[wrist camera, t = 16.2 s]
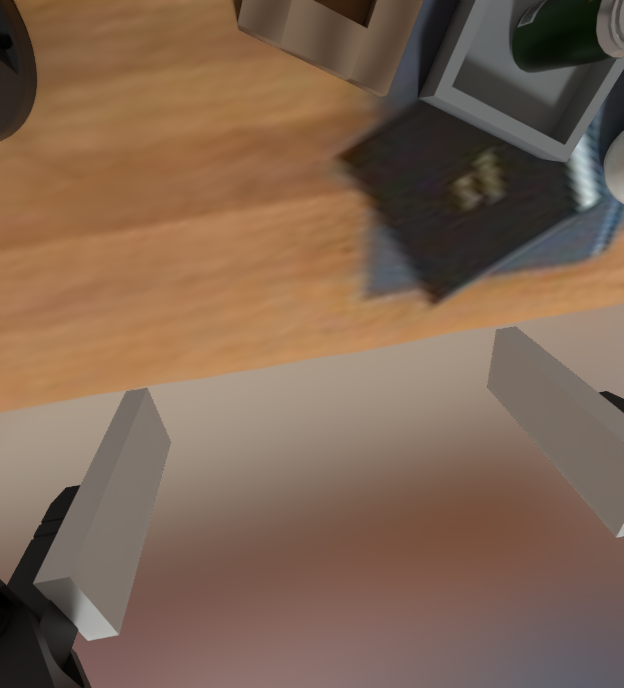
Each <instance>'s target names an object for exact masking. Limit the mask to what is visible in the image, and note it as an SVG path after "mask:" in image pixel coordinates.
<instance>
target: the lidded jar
mask: <svg viewBox="0 0 624 688" xmlns="http://www.w3.org/2000/svg"><path fill="white" fill-rule="evenodd" d="M603 170H604V179H605V183H606V186H607V188H608V190H609V192H610V193H611V194H612V195H613V197H614V198H615V199H617V200H618V201H619V202H621V203H622V204H624V130H623V131H622V132H621V133H620V134H619V135H618V136H617V137H616V139H615V140H614V141H613V142H612V144H611V145H610V147H609V149H608V151H607V153H606V155H605V159H604V164H603Z"/></svg>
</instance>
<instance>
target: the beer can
mask: <svg viewBox="0 0 624 688" xmlns="http://www.w3.org/2000/svg"><path fill="white" fill-rule="evenodd" d="M510 51H511V56H512V59H513V61H514V63H515V64H516V65H517V66H518V67H519V69H521V70H523V71H525V72H527V73H538V72H543V71H549V70H555V69H561V68H567V67H572V66H578V65H584V64H590V63H596V62H601V61H607V60H613V59H619V58H624V0H540V1H538V2H535V3H534V4H533V5H532V6H530V7H529V8H528V9H527V10H526V11H525V12H524V14H523V15H522V16H521V18H520V19H519V21H518V22H517V24H516V26H515V29H514V31H513V33H512V38H511V42H510Z"/></svg>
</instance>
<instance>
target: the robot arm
mask: <svg viewBox="0 0 624 688" xmlns="http://www.w3.org/2000/svg"><path fill="white" fill-rule="evenodd" d="M36 88H37V72H36V63H35V57H34V53H33V49H32V45H31V42H30V39H29V36H28V33H27V31H26V28H25V26H24V24H23V21H22V19H21V17H20V15H19V13H18V11H17V10H16V8H15V6H14V4H13V3H12V1H11V0H0V141H2V140H4V139H6V138H8V137H9V136H11V135H12V134H14V133H15V132H16V131H17V130H18V129H19V128H20V127H21V126H22V125H23V124H24V122H25V121H26V119H27V118H28V116H29V114H30V112H31V110H32V107H33V104H34V100H35V96H36ZM487 388H488V389H489V390H490V391H491V392H492V393H493V394H494V396H495V397H496V398H497V399H498V400H499V402H500V403H501V404H502V405H503V406H504V407H505V409H506V410H507V411H508V412H509V413H510V414H511V416H512V417H513V418H514V419H515V420H516V421H517V422H518V424H519V425H520V426H521V427H522V428H523V430H524V431H525V432H526V433H527V434H528V435H529V437H530V438H531V439H532V440H533V441H534V442H535V444H536V445H537V446H538V447H539V448H540V449H541V451H542V452H543V453H544V454H545V455H546V456H547V458H548V459H549V460H550V461H551V462H552V463H553V464H554V466H555V467H556V468H557V469H558V470H559V471H560V473H561V474H562V475H563V476H564V477H565V478H566V480H567V481H568V482H569V483H570V484H571V485H572V487H573V488H574V489H575V490H576V491H577V492H578V493H579V495H580V496H581V497H582V498H583V499H584V501H585V502H586V503H587V504H588V505H589V506H590V508H591V509H592V510H593V511H594V512H595V513H596V514H597V516H598V517H599V518H600V519H601V520H602V522H603V523H604V524H605V525H606V526H607V527H608V529H609V530H610V531H611V532H612V533H613V534H614V536H615V537H622V536H624V399H623V398H621V397H619V396H616V395H614V394H612V393H610V392H607V391H604V392H599V393H598V392H597V391H596V390H594V389H593V388H592V387H591V386H589V385H588V384H587V383H586V382H584V381H583V380H582V379H581V378H579V377H578V376H577V375H575V374H574V373H573V372H572V371H571V370H569V369H568V368H567V367H566V366H564V365H563V364H562V363H561V362H559V361H558V360H557V359H556V358H554V357H553V356H552V355H551V354H549V353H548V352H547V351H545V350H544V349H543V348H542V347H541V346H539V345H538V344H537V343H536V342H534V341H533V340H532V339H531V338H529V337H528V336H527V335H525V334H524V333H523V332H522V331H521V330H519V329H518V328H517V327H509V328H503V329H497V330H496V334H495V340H494V346H493V353H492V359H491V365H490V372H489V378H488V385H487ZM170 444H171V441H170V439H169V436H168V434H167V432H166V429H165V427H164V425H163V423H162V420H161V418H160V416H159V413H158V411H157V409H156V406H155V404H154V402H153V399H152V397H151V395H150V392H149V390H148V388H143V389H137V390H131V391H126V393H125V395H124V397H123V399H122V401H121V403H120V405H119V407H118V409H117V411H116V414H115V415H114V417H113V420H112V422H111V424H110V426H109V428H108V430H107V432H106V434H105V436H104V438H103V440H102V442H101V444H100V446H99V448H98V450H97V453H96V455H95V457H94V459H93V461H92V463H91V465H90V467H89V469H88V471H87V473H86V475H85V477H84V479H83V481H82V483H81V485H79V486H72V487H67V488H65V489H64V490H63V491H62V493H61V494H60V495H59V496H58V497H57V498H56V499H55V500H54V501H53V502H52V503H51V505H50V506H49V508H48V510H47V512H46V514H45V516H44V518H43V519H42V521H41V522H42V524H41V525H39V527H38V529H37V530H36V532H35V534H34V539H33V540H31V542H30V544H29V546H28V547H27V549H26V551H25V553H24V555H23V557H22V558H21V560H20V562H19V564H18V566H17V568H16V569H15V571H14V573H13V575H12V577H11V579H10V581H9V582H8V584H7V585H6V584H5V583H4V582H3V581H1V579H0V688H91V686H90V683H89V681H88V679H87V676H86V674H85V672H84V669H83V667H82V665H81V662H80V660H79V658H78V656H77V653H76V652H75V651H74V650H73V649H72V646H73V643H74V640H75V637H76V635H77V631H79V632H80V633H81V634H82V635H83V636H84V637H85V638H86V639H87V640H88V641H90V640H95V639H100V638H104V637H110V636H115V635H119V633H120V629H121V625H122V622H123V618H124V614H125V610H126V607H127V603H128V599H129V596H130V592H131V588H132V584H133V581H134V577H135V573H136V570H137V566H138V562H139V559H140V555H141V551H142V548H143V544H144V540H145V536H146V533H147V529H148V525H149V522H150V518H151V514H152V510H153V507H154V503H155V499H156V496H157V491H158V488H159V484H160V481H161V477H162V473H163V470H164V466H165V462H166V459H167V455H168V451H169V447H170Z"/></svg>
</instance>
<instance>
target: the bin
mask: <svg viewBox="0 0 624 688" xmlns="http://www.w3.org/2000/svg"><path fill="white" fill-rule="evenodd" d="M538 1H540V0H459V2H458V4H457V7H456V9H455V11H454V14H453V16H452V18H451V21H450V23H449V26H448V28H447V30H446V33H445V35H444V37H443V40H442V42H441V45H440V47H439V49H438V52H437V54H436V56H435V59H434V61H433V64H432V66H431V68H430V71H429V73H428V76H427V78H426V80H425V83H424V85H423V87H422V90H421V92H420V95H419V97H418V98H419V99H421V100H423V101H425V102H427V103H429V104H431V105H433V106H435V107H437V108H439V109H441V110H443V111H445V112H447V113H449V114H451V115H453V116H455V117H457V118H459V119H461V120H463V121H465V122H467V123H469V124H471V125H473V126H475V127H477V128H480V129H482V130H484V131H486V132H488V133H490V134H492V135H494V136H496V137H498V138H500V139H502V140H504V141H506V142H508V143H510V144H512V145H514V146H516V147H518V148H520V149H522V150H524V151H526V152H528V153H530V154H532V155H534V156H536V157H538V158H540V159H546V160H553V161H561V162H567V160H568V158H569V157H570V155H571V154H572V152H573V150H574V149H575V147H576V145H577V144H578V142H579V141H580V139H581V137H582V136H583V134H584V133H585V131H586V129H587V128H588V126H589V124H590V123H591V121H592V120H593V118H594V116H595V115H596V113H597V111H598V110H599V108H600V107H601V105H602V103H603V102H604V100H605V98H606V97H607V95H608V94H609V92H610V90H611V89H612V87H613V86H614V84H615V82H616V81H617V79H618V77H619V76H620V74H621V73H622V71H623V69H624V58H619V59H613V60H607V61H601V62H596V63H590V64H584V65H578V66H572V67H567V68H561V69H555V70H549V71H543V72H538V73H527V72H525V71H523V70H521V69H519V67H518V66H517V65H516V64H515V63H514V61H513V59H512V56H511V51H510V42H511V38H512V33H513V31H514V29H515V26H516V24H517V22H518V21H519V19H520V18H521V16H522V15H523V14H524V12H525V11H526V10H527V9H528V8H529V7H530V6H532V5H533V4H534V3H535V2H538Z"/></svg>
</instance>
